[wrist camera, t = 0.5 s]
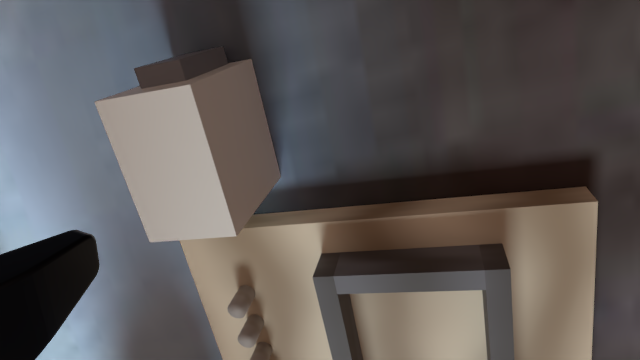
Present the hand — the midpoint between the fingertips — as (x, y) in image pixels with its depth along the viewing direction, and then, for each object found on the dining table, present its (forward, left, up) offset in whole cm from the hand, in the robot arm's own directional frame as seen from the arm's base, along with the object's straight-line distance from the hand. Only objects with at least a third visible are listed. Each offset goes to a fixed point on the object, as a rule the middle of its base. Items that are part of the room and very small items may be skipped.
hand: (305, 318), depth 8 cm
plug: (-7, +1, -13) cm, 15 cm away
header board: (-1, -11, -13) cm, 17 cm away
